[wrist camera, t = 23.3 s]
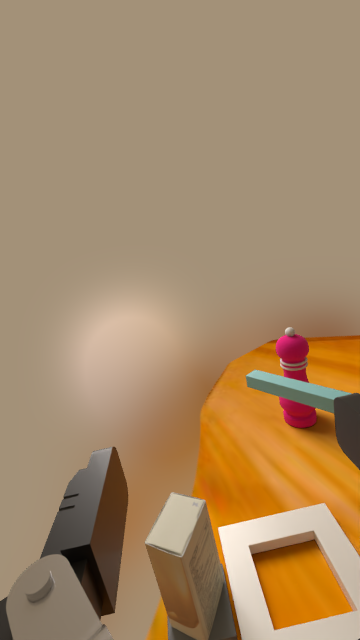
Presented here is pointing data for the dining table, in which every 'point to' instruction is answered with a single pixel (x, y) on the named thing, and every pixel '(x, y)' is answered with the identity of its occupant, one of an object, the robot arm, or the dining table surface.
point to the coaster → (223, 625)
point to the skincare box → (186, 564)
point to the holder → (279, 531)
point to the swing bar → (294, 390)
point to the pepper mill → (295, 377)
